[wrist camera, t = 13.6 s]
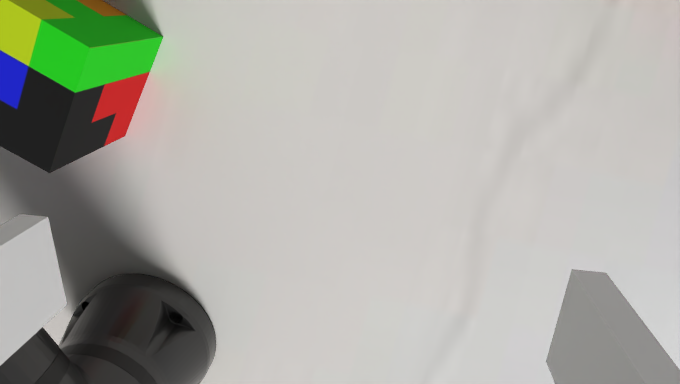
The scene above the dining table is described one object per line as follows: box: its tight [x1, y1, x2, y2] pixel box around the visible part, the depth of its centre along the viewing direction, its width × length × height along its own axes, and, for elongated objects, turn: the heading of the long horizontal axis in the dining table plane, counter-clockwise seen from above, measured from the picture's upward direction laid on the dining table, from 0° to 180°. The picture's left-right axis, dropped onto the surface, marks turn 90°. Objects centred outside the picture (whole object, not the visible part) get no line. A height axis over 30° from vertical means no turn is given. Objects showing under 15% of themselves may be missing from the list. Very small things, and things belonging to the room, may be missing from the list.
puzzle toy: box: [0, 0, 163, 173], centre depth 35 cm, size 10×10×10 cm
